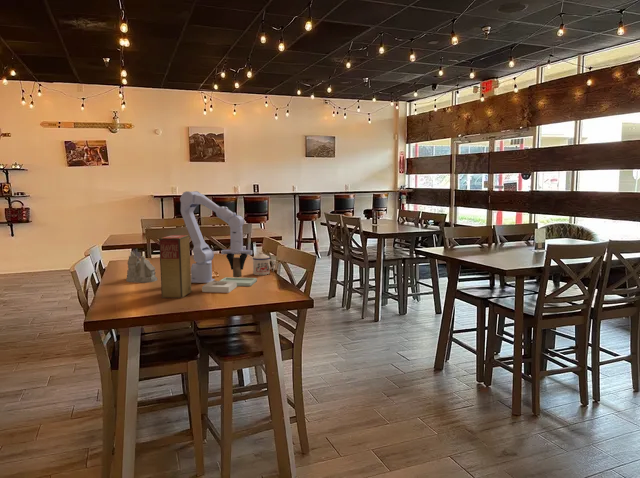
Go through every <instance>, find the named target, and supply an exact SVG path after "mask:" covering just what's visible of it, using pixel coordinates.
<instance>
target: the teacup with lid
mask: <svg viewBox="0 0 640 478" xmlns="http://www.w3.org/2000/svg"><path fill="white" fill-rule="evenodd" d="M270 258H271V257H270V255H267V254H265V253H264V251H259V252H258V253H257V254H256V255H254V256H253V257H252V273H253V275H254V276H267V274H268V275H270V270H272V269H274V268H275V265H276V262H275V260H273V259H270ZM270 262H272V263H273V264H272V266H271V265H270ZM270 266H271V267H270Z"/></svg>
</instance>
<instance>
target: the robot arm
mask: <svg viewBox="0 0 640 478" xmlns="http://www.w3.org/2000/svg"><path fill="white" fill-rule="evenodd" d="M179 201H180V214H181V216H182V219H183V221H184V224H185V226H186V227H185V228H186V229H187V232H188V234H189V238H190V239H191V241H192V242H191V243H192V245H193V247H192V248H193V249H192V253H193V260H194V262H195V263H192V264H191V265H190V270H191V284H192V283H193V284H194V283H195V284H198V283H199V284H200V283H201V284H202V283H203V284H207V283H209V282H210V281H216V280H215V278H213V266H212V264H213V263H212V261H213V260H214V257H215V253H214V251H213V250H212V249H211V248H210V245H209V244H207V243H206V241H205V240H204V237H203V235H202V231H201V230H200V227H199V223H198V221H197V218H196V216H195V214H194V211H195V209H196V208H197V207H198V206H199V205H202V206H204V207H206V208H207V209H209V210H210V211H212V212H214V213H215V215H216V217H217V218H218V219H220V220H222V221H223V222H225V223H226V224H227V225H228V227H229V228H230V229H229V231H230V249H221V251H220V252H221V255H226V258H227V261H228V263H229V265H230V270H232V271H233V258H234V257H235V255H239V257H240V262H241V271H242V270H244V268H245V267H244V266H245V262H246V260H247V258H248V256H249V255H251V256H252V255H253V250H251V249H244V237H243V236H244V235H243V233H244V232H243V226H244V224H245V219H244V218H243V216H241V215H240V214H237V213H236V212H233V211H232V210H230V209H229V207H227V206H220V205H219V204H216V203H215V202H214V201H212V200H211V199H210V198H208V197H207V196H206V195H204V194H203V193H201V192H199V191H197V190H196V191H184V192H182V194H181V196H180V198H179Z"/></svg>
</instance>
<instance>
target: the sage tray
mask: <svg viewBox="0 0 640 478" xmlns="http://www.w3.org/2000/svg"><path fill="white" fill-rule="evenodd" d="M219 281H235V282H237V287H252V286H253V285H254V284H255V283H257V281H258V278H257V277H226V276H225V277H224V278H222V279H220V280H219Z"/></svg>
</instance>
